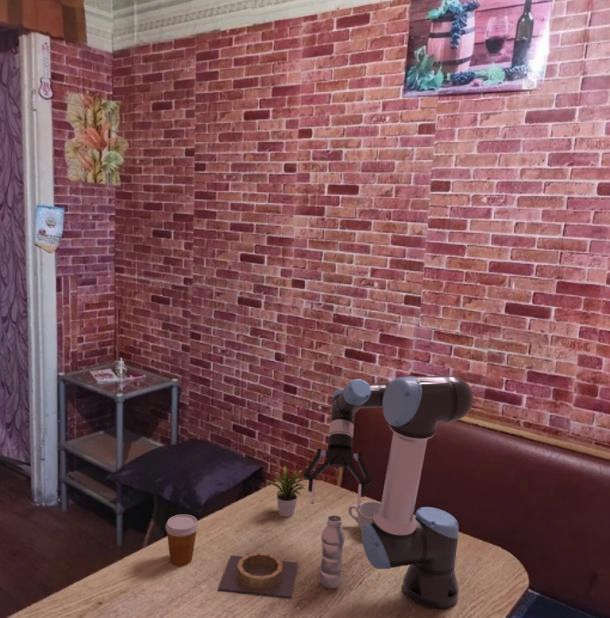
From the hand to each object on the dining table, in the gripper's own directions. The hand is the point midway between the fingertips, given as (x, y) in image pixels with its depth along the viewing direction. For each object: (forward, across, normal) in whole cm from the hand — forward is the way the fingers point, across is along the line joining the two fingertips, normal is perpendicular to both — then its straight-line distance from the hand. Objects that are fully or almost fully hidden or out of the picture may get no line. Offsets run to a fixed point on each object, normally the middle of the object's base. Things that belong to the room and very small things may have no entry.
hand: (335, 505), depth 173 cm
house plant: (-5, +17, -32) cm, 36 cm away
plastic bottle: (+20, 0, -6) cm, 21 cm away
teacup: (-2, -11, -29) cm, 31 cm away
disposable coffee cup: (+18, +44, -9) cm, 48 cm away
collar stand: (+20, +20, -6) cm, 29 cm away
